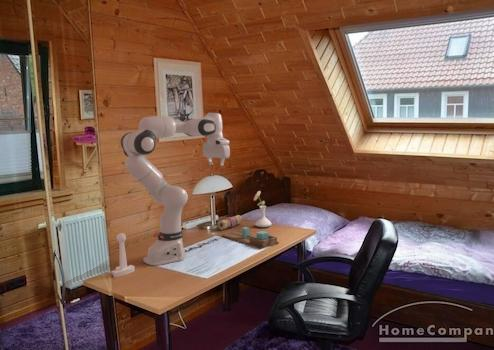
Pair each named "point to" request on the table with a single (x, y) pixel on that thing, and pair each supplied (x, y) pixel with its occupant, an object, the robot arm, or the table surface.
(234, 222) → the scroll
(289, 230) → the table surface
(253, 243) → the lane board
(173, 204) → the robot arm
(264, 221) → the flower in vase
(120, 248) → the joystick
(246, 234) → the block with cord
